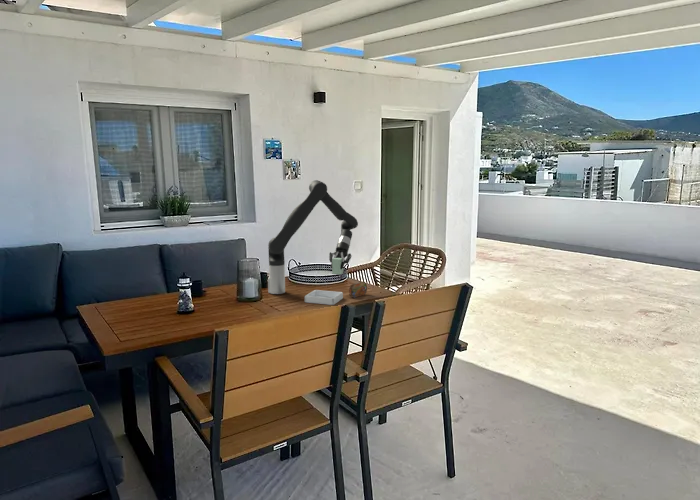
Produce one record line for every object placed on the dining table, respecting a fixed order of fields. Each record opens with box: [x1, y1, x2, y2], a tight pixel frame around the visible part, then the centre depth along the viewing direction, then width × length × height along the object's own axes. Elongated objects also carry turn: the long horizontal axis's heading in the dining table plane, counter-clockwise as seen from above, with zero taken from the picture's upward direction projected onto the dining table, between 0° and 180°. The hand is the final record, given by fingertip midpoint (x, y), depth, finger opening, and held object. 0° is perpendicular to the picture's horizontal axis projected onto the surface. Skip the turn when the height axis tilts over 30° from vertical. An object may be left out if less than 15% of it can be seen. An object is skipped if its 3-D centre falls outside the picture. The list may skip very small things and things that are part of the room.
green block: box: [331, 257, 344, 275], centre depth 285 cm, size 5×5×9 cm
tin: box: [348, 281, 368, 299], centre depth 282 cm, size 15×3×8 cm, turn 143°
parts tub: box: [304, 289, 344, 306], centre depth 272 cm, size 17×15×4 cm
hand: (336, 268), depth 283 cm, fingers closed on green block, 5 cm apart
